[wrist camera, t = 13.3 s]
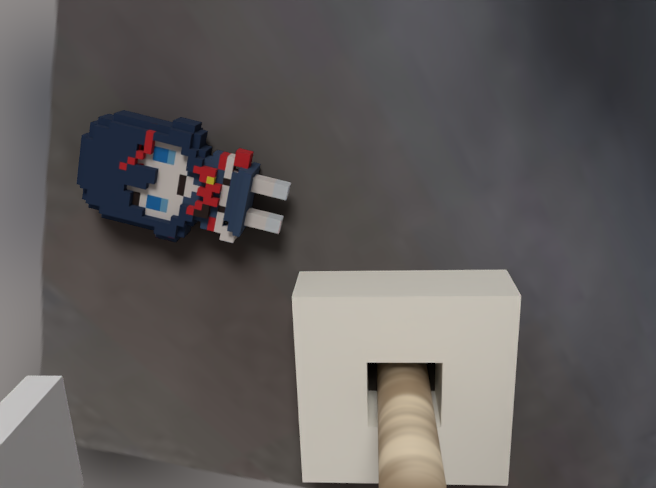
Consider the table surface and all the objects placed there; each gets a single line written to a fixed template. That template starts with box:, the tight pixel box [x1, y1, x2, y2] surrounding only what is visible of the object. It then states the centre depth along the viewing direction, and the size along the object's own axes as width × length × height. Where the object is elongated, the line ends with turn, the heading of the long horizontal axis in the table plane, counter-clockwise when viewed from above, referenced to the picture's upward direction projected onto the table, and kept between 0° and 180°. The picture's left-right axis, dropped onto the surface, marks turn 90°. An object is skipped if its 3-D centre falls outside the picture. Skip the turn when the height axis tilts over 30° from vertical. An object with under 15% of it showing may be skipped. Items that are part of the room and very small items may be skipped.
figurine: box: [77, 110, 291, 243], centre depth 45 cm, size 9×4×15 cm
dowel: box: [377, 363, 447, 488], centre depth 44 cm, size 4×4×16 cm
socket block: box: [292, 270, 521, 486], centre depth 49 cm, size 16×16×5 cm
